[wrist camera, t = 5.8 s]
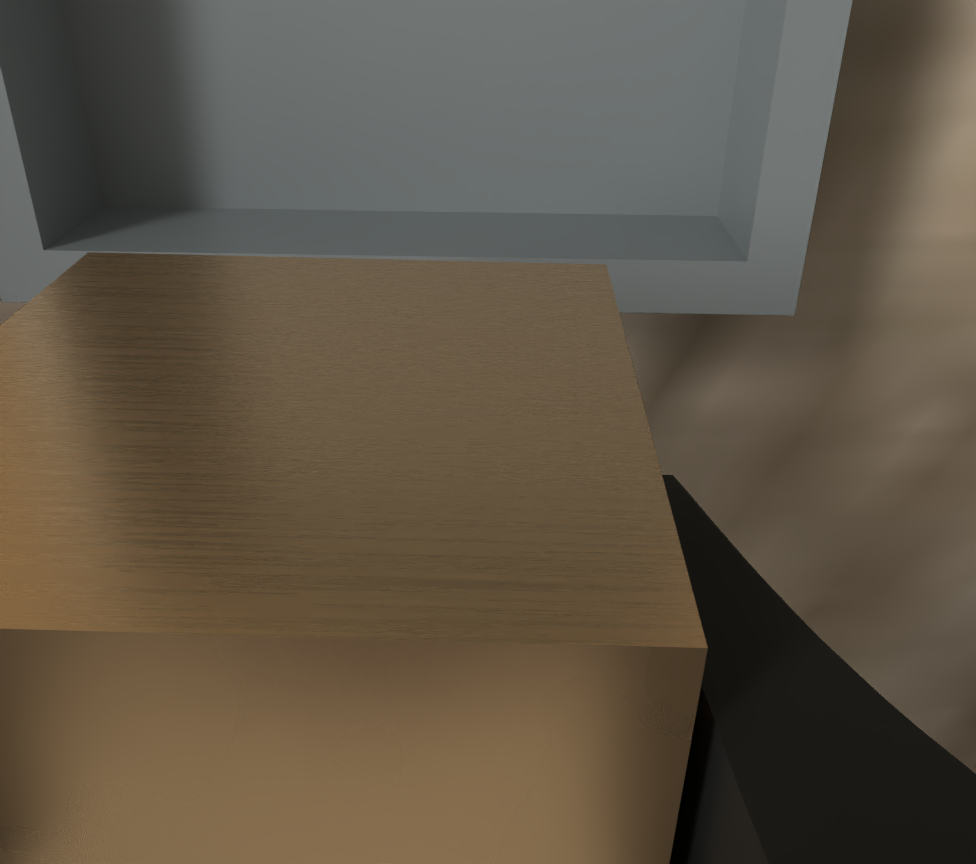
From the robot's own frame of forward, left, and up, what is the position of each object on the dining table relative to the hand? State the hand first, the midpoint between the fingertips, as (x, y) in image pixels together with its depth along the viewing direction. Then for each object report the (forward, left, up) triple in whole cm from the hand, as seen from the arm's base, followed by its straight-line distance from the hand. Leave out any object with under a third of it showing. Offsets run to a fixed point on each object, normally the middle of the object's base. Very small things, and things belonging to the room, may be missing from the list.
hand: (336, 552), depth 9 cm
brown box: (0, 0, -2) cm, 2 cm away
